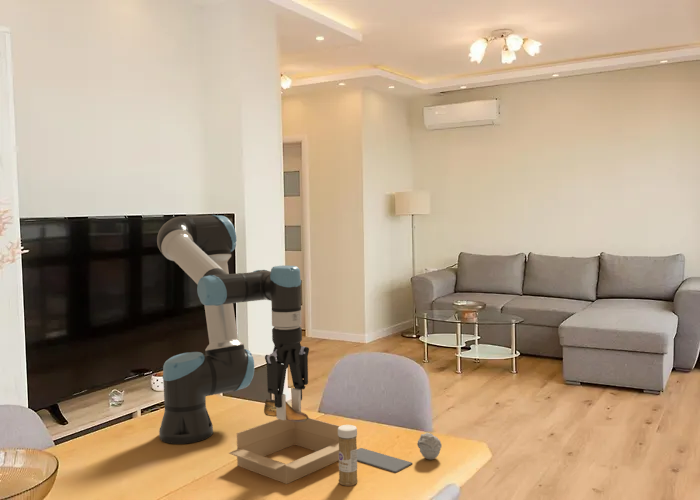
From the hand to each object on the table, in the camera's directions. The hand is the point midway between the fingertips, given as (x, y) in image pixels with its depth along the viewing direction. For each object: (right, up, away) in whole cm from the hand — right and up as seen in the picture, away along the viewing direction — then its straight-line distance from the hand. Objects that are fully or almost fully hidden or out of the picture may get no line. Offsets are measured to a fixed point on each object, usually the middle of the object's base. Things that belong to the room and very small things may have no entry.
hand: (288, 416), depth 172 cm
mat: (+23, -12, 0) cm, 25 cm away
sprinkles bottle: (+15, -13, -13) cm, 24 cm away
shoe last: (-1, -1, 0) cm, 1 cm away
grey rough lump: (+36, -11, 0) cm, 38 cm away
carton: (+1, -12, -2) cm, 12 cm away
